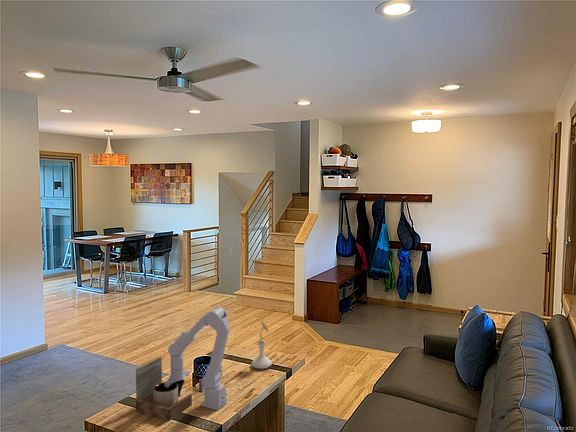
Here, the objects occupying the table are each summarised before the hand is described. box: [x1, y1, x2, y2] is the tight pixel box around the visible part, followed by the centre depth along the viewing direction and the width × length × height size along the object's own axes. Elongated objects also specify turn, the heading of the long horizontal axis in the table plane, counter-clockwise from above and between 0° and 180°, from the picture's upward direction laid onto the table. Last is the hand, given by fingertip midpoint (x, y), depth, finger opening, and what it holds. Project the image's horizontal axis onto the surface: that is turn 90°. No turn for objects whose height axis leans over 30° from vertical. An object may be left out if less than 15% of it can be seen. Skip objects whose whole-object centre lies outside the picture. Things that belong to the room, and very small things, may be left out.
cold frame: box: [135, 357, 193, 422], centre depth 188 cm, size 18×15×19 cm
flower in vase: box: [250, 320, 273, 370], centre depth 235 cm, size 13×11×25 cm
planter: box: [153, 381, 179, 408], centre depth 189 cm, size 11×11×10 cm
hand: (177, 396), depth 196 cm, fingers closed
